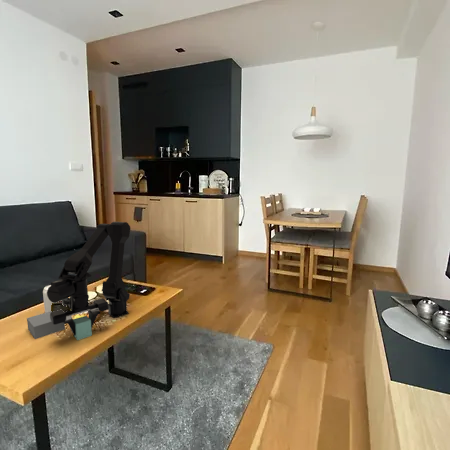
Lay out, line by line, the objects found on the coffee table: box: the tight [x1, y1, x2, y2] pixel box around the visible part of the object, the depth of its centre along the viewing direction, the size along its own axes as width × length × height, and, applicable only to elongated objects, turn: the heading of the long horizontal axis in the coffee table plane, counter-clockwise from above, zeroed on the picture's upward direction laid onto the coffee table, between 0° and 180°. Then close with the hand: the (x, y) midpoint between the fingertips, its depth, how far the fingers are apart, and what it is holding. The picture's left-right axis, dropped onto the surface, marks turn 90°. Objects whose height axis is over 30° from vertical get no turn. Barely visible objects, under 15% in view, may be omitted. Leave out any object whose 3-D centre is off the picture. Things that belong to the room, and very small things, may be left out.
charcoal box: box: [26, 311, 66, 340], centre depth 113 cm, size 10×10×5 cm
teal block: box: [72, 315, 93, 341], centre depth 109 cm, size 5×5×6 cm
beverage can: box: [42, 284, 62, 313], centre depth 126 cm, size 8×8×12 cm
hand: (82, 332), depth 109 cm, fingers closed on teal block, 5 cm apart
